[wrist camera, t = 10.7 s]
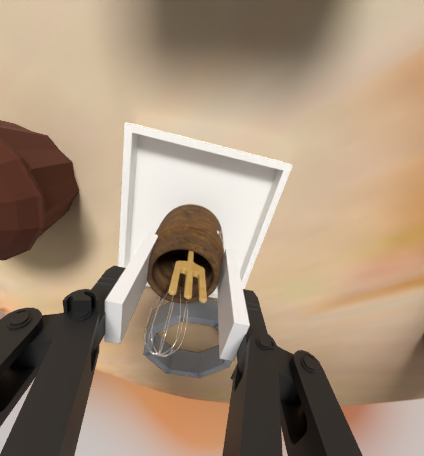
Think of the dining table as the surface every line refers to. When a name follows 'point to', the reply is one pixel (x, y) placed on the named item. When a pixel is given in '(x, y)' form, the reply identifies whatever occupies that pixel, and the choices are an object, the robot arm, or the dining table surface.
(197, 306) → the grey octagonal ring
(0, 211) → the muffin
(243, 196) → the tray
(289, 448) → the robot arm
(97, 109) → the dining table surface
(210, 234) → the utensil holder
